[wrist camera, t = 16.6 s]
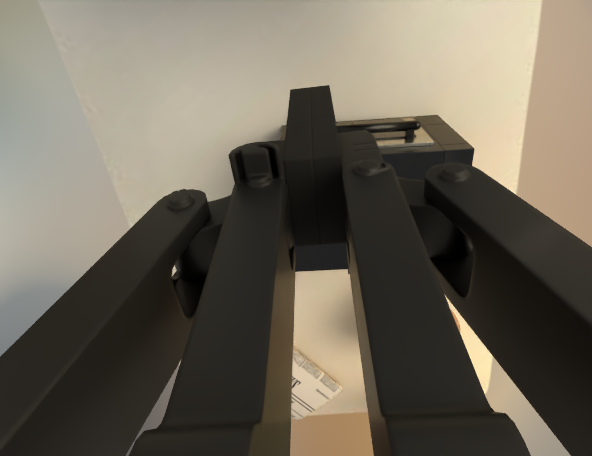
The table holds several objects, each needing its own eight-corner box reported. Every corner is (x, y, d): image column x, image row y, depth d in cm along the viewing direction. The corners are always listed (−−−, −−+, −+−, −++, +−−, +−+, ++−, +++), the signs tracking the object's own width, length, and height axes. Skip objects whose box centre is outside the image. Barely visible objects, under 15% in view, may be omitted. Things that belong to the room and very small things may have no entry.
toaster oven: (439, 95, 43) (478, 124, 34) (427, 212, 50) (457, 263, 41) (280, 106, 44) (274, 138, 35) (290, 220, 51) (287, 272, 42)
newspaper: (189, 348, 63) (186, 360, 60) (245, 302, 60) (244, 313, 57) (289, 419, 71) (290, 432, 68) (343, 381, 68) (346, 394, 65)
